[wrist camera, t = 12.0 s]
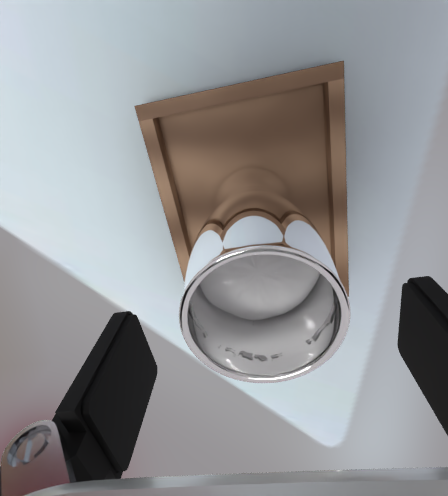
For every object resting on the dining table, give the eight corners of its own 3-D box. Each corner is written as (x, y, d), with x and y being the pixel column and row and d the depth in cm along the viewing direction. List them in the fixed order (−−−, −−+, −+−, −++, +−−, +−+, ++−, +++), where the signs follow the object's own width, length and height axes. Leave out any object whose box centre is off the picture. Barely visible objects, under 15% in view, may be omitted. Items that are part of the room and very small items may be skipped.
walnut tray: (144, 105, 24) (134, 106, 21) (333, 64, 22) (343, 60, 19) (197, 299, 31) (193, 314, 29) (340, 281, 29) (348, 296, 27)
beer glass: (193, 211, 26) (139, 333, 12) (245, 142, 23) (249, 200, 10) (257, 257, 27) (272, 409, 14) (312, 197, 25) (397, 313, 11)
